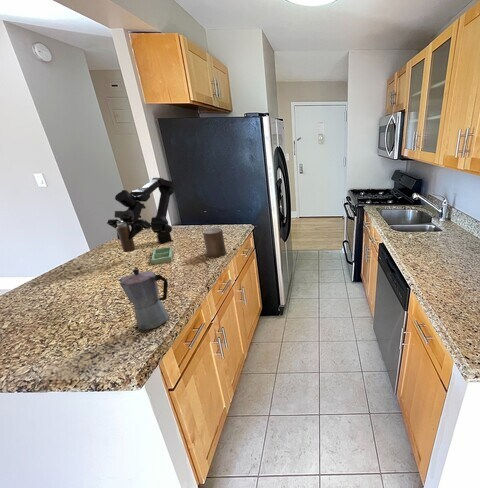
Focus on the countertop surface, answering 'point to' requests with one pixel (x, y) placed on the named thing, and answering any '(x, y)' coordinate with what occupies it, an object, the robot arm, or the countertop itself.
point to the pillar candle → (214, 242)
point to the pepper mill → (125, 237)
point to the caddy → (162, 255)
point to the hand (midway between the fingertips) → (124, 239)
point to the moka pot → (146, 298)
